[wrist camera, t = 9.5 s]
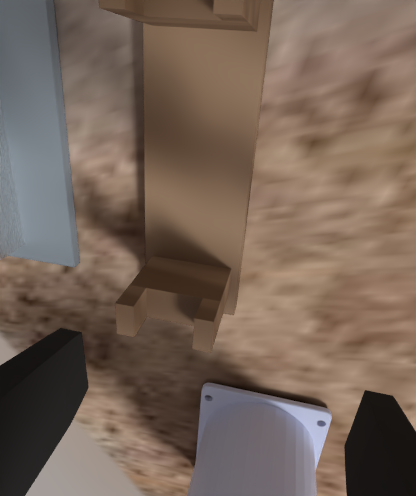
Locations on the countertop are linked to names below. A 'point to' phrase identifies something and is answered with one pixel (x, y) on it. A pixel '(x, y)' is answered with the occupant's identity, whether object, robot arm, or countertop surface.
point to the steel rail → (8, 200)
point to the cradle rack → (195, 156)
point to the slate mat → (37, 130)
